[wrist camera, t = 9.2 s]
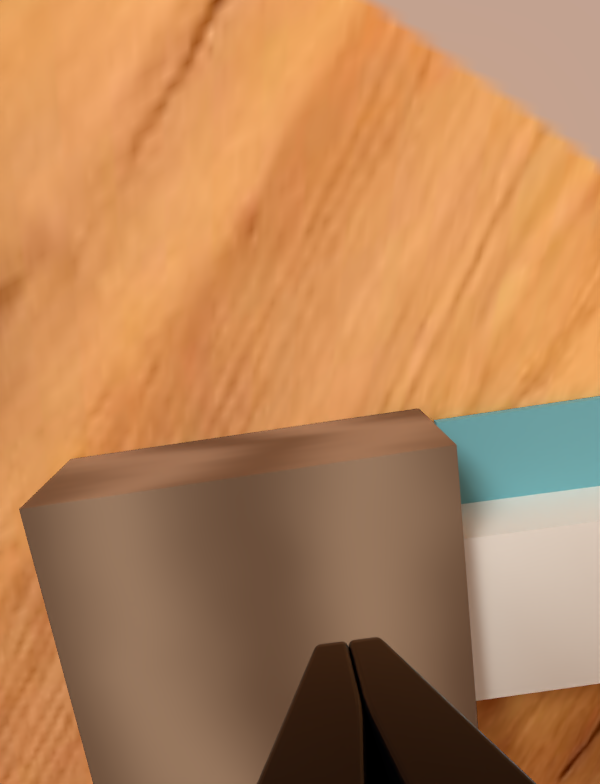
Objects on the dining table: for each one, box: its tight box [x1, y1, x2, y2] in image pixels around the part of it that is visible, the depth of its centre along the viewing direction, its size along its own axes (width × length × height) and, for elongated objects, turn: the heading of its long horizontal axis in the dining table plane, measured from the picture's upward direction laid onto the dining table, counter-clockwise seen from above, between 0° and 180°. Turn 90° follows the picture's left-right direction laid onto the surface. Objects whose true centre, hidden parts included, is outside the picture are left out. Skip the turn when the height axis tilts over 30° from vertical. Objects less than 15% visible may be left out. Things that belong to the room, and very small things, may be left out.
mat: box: [434, 396, 600, 504], centre depth 21 cm, size 10×11×1 cm
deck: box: [19, 409, 478, 784], centre depth 19 cm, size 12×12×4 cm
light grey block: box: [461, 486, 600, 701], centre depth 19 cm, size 9×6×2 cm, turn 97°
